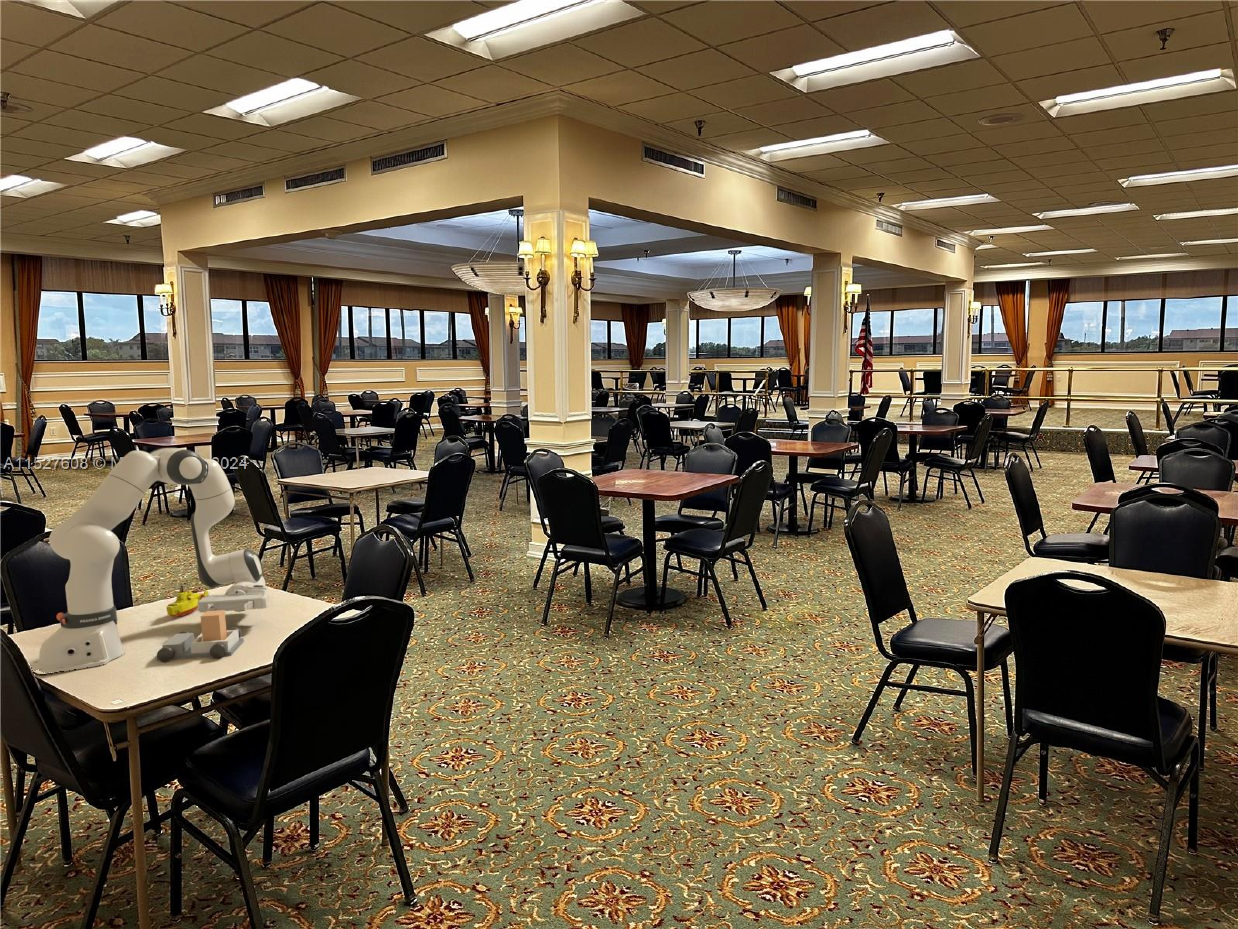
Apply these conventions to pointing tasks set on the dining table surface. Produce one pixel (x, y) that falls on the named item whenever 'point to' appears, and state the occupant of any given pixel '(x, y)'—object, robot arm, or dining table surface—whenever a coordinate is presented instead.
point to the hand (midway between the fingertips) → (226, 609)
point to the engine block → (213, 625)
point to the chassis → (199, 646)
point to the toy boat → (185, 602)
